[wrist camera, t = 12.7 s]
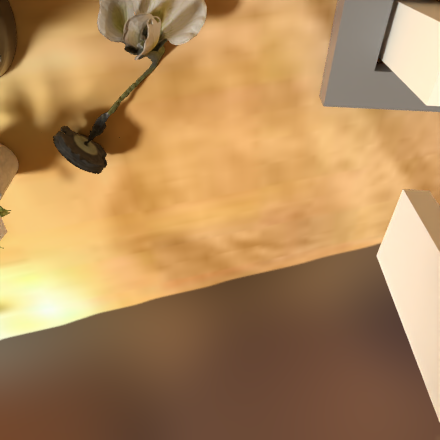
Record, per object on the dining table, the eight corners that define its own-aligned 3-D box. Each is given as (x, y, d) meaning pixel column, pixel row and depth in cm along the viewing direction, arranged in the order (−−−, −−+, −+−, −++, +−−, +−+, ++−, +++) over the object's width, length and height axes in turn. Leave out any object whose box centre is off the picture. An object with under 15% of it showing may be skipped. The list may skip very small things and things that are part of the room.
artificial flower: (58, 117, 46) (-1, 129, 37) (174, -40, 37) (135, -75, 28) (110, 169, 47) (66, 192, 38) (234, 29, 39) (215, 16, 30)
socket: (319, 96, 41) (323, 106, 38) (349, -64, 32) (358, -63, 29) (448, 102, 40) (461, 113, 38) (515, -59, 31) (538, -58, 29)
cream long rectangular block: (376, 54, 38) (435, 114, 25) (391, -2, 35) (466, 34, 22) (415, 56, 38) (494, 117, 25) (434, -1, 34) (534, 37, 22)
